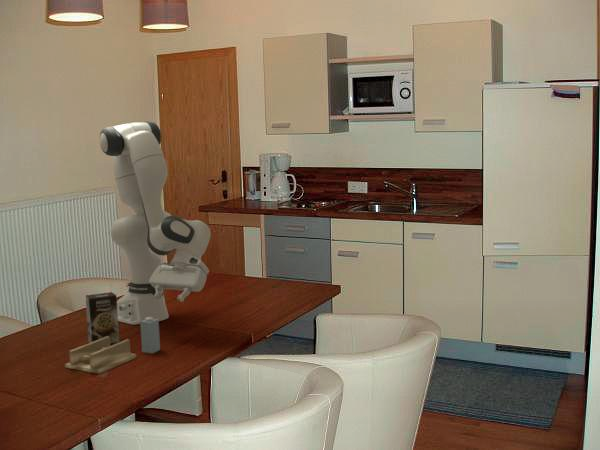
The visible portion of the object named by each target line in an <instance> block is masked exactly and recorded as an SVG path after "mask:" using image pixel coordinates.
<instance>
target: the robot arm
mask: <svg viewBox="0 0 600 450" xmlns="http://www.w3.org/2000/svg"><path fill="white" fill-rule="evenodd" d="M161 143H162V132H161V129H160V127H159V126H158V125H157V124H156V123H155V122H153V121H144V122H143V121H142V122H141V121H139V122H135V121H134V122H127V123H123V124H118V125H114V126H113V125H109V126H107V127H105V128H103V129H102V130H101V131H100V133H99V144H100V148H101V151H102V152H103V153H104V154H105V155H106V156H109V157H112V164H113V165H112V166H113V167H112V168H113V173H114V178H115V183H116V187H117V191H118V195H119V198H120V201H121V202H122V203H123V204H124V205H126V206H128V207H130V208H132V210H133V211H134V212H135V214H132V215H131V214H130V215H126V216H123V217H120V218H118V219H116V220H115V221H113V223H112V224H111V227H110V236H111V239H112V241H113V242H114V244H115V245H116V246H119V247H120V248H121V249H122V250H123V251H124V253H125V254H126V257H127V259H128V261H129V262H128V263H129V267H130V268H129V269H130V276H131V281H130V282H128V283H125V285H126V286H125V287H126V288H128V291H127V292H126V293H125V294H124V295H123V296H121V297H120V298H119V299H118V300H117V314H118V322H120V323H125V324H127V325H131V326H132V325H133V326H134V325H135V326H136V325H140V321H143V320H145V318H147V317H153V319H158V322H161V321H165V320H167V319H169V317H170V314H169V313H168V312H169V311H168V308H167V305H166V301H165V300H166V299H165V294H164V293H165V290H176V291H182V293H181V294H179V293H178V295H177V297H176V300H177V301H178V302H181V303H182V302H183V303H184V300H185V298H186V297H188V296H189V295H190V294H191V292H196V293H199V292H200V291H202V290H203V288H204V286H205V285H206V281H207V278H208V276H207V275H209V272H210V270H209V268H208V267H207V265H206V264H205V263H204V261H202V256H203V255H204V253H205V252H206V250H207V248H208V246H209V243H210V239H211V229H210V227H209V226H208V225H207V224H206V223H205V222H203V221H201V220H198V219H195V220H189V219H183V218H181V217H180V216H178V215H171V213H169V212H167V211H166V210H164V209H163V207H162V192H163V190H164V187H165V184H166V181H167V178H168V175H169V174H168V165H167V161H166V159H165V155H164V153H163V150H162V147H161ZM174 250H176V251H175V253H174V255H173V257H172V258H171V261H170V262H162V260H161V258H160V257H159V256H168V255H170V254H171V253H173V251H174ZM151 251H152V252H153V253H152V252H151Z"/></svg>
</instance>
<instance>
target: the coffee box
mask: <svg viewBox="0 0 600 450" xmlns="http://www.w3.org/2000/svg"><path fill="white" fill-rule="evenodd" d="M117 301H118V300H117V295H116V294H115V293H114V292H112V291H110V292H103V293H101V292H100V293H95V294H88V295H85V307H86V309H85V310H86V323H87V325H86V326H87V340H88V341H87V342H88V343H91V342H94V341H96V340H99V339H101V338H104V337H106V336H108V337H110V345H111V344H116V343H119V342H120V333H119V321H118V314H117Z"/></svg>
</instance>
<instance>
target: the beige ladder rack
mask: <svg viewBox="0 0 600 450" xmlns="http://www.w3.org/2000/svg"><path fill="white" fill-rule="evenodd" d="M68 353H69V362H67V363H65V364H64V368H68V369H72V370H78V371H83V372H88V373H94V374H102V373H104V372H107V371H109V370H112V369H114V368H116V367H118V366H121V365H123V364H125V363H127V362H130V361H131V360H134V359H136V358H137V354H136V353H132V351H131V340H130V339H128V338H126V339H124V340H121V341H119V342H117V343H113V344H112V345H111V344H110V337H108V336H106V337H104V338H101V339H99V340H96V341H94V342H91V343H89V342H88V343H86V344H84V345H81V346H78V347H76V348H74V349H70V350H68Z"/></svg>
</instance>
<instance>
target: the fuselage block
mask: <svg viewBox="0 0 600 450" xmlns="http://www.w3.org/2000/svg"><path fill="white" fill-rule="evenodd" d="M159 323H160V321H158V319H153V317H147V318H145V320H143V321H140V324H139V326H140V337H141V338H140V340H141V341H140V342H141V352H142V353H144V354H145V353H146V354H154V353H157V352H158V351H160V350H161V340H160V324H159Z"/></svg>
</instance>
